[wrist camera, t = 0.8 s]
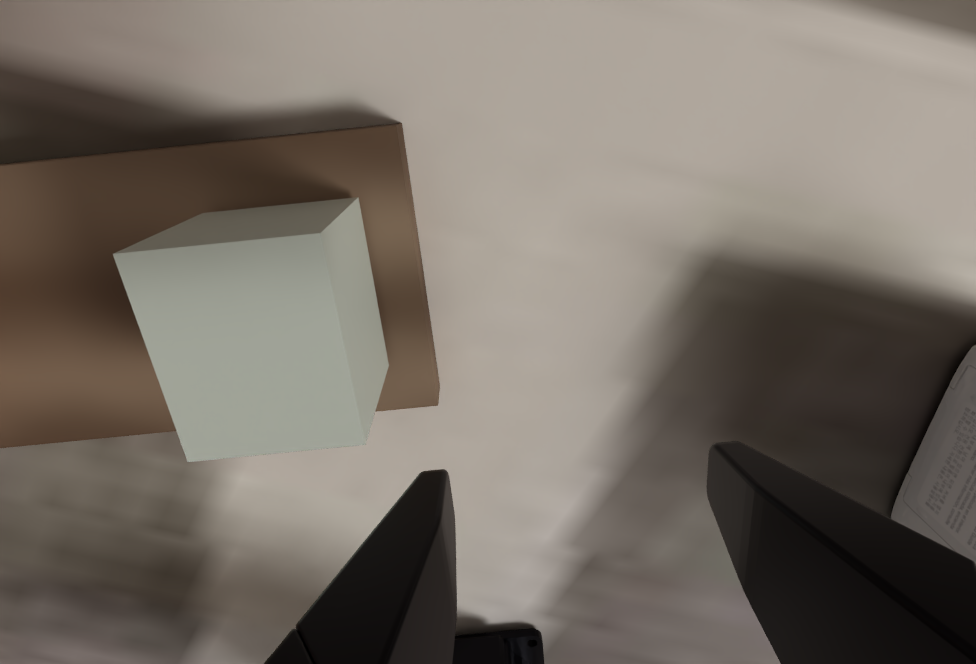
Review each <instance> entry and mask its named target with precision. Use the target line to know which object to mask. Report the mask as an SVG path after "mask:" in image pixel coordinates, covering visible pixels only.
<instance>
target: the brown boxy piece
mask: <svg viewBox="0 0 976 664" xmlns="http://www.w3.org/2000/svg"><path fill="white" fill-rule="evenodd" d="M355 197H358V198H359V203H360V209H361V214H362V220H363V225H364V231H365V236H366V242H367V248H368V253H369V259H370V264H371V270H372V275H373V281H374V286H375V292H376V297H377V303H378V308H379V314H380V319H381V325H382V330H383V336H384V341H385V347H386V352H387V358H388V363H389V367H388V370H387V374H386V377H385V380H384V384H383V387H382V390H381V394H380V397H379V401H378V404H377V407H376V411H386V410H396V409H407V408H417V407H427V406H437V405H438V400H439V390H440V384H439V377H438V370H437V363H436V356H435V349H434V342H433V335H432V329H431V322H430V315H429V308H428V301H427V294H426V287H425V280H424V273H423V266H422V259H421V252H420V246H419V239H418V232H417V225H416V218H415V211H414V204H413V197H412V190H411V183H410V176H409V169H408V163H407V156H406V149H405V142H404V135H403V128H402V123H397V124H387V125H377V126H368V127H358V128H348V129H338V130H329V131H319V132H309V133H299V134H290V135H280V136H270V137H260V138H251V139H241V140H231V141H221V142H212V143H202V144H192V145H182V146H172V147H163V148H153V149H143V150H133V151H124V152H114V153H104V154H94V155H85V156H75V157H65V158H55V159H46V160H36V161H26V162H16V163H7V164H0V448H6V447H17V446H27V445H37V444H47V443H58V442H68V441H78V440H88V439H99V438H109V437H119V436H129V435H140V434H150V433H160V432H171V431H176V428H175V425H174V422H173V420H172V417H171V414H170V411H169V409H168V406H167V403H166V400H165V398H164V395H163V392H162V389H161V386H160V384H159V381H158V378H157V375H156V373H155V370H154V367H153V364H152V362H151V359H150V356H149V353H148V350H147V348H146V345H145V342H144V339H143V337H142V334H141V331H140V328H139V326H138V323H137V320H136V317H135V314H134V312H133V309H132V306H131V303H130V301H129V298H128V295H127V292H126V290H125V287H124V284H123V281H122V278H121V276H120V273H119V270H118V267H117V265H116V262H115V259H114V256H113V254H114V253H116V252H118V251H120V250H123V249H125V248H127V247H129V246H131V245H134V244H136V243H138V242H140V241H142V240H144V239H147V238H149V237H151V236H153V235H155V234H158V233H160V232H162V231H164V230H166V229H169V228H171V227H173V226H175V225H177V224H180V223H182V222H184V221H186V220H188V219H191V218H193V217H195V216H197V215H199V214H202V213H207V212H217V211H227V210H237V209H247V208H256V207H266V206H276V205H286V204H296V203H306V202H316V201H326V200H335V199H345V198H355ZM376 411H375V412H376Z"/></svg>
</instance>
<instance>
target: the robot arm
mask: <svg viewBox="0 0 976 664" xmlns="http://www.w3.org/2000/svg"><path fill="white" fill-rule="evenodd" d="M707 496H708V500H709V503H710V506H711V508H712V511H713V513H714V516H715V519H716V521H717V524H718V526H719V529H720V532H721V534H722V537H723V539H724V542H725V545H726V547H727V550H728V552H729V555H730V558H731V560H732V563H733V565H734V568H735V570H736V573H737V576H738V578H739V581H740V583H741V585H742V588H743V590H744V592H745V594H746V596H747V598H748V601H749V603H750V605H751V607H752V609H753V611H754V612H755V614H756V616H757V618H758V620H759V622H760V624H761V626H762V628H763V630H764V632H765V634H766V636H767V638H768V639H769V641H770V643H771V645H772V647H773V649H774V651H775V653H776V655H777V657H778V659H779V661H780V663H781V664H976V564H975V562H974V561H973V560H971V559H969V558H967V557H965V556H963V555H961V554H959V553H957V552H955V551H953V550H951V549H949V548H947V547H945V546H943V545H942V544H940V543H938V542H936V541H934V540H932V539H930V538H928V537H926V536H924V535H922V534H920V533H918V532H916V531H914V530H912V529H910V528H908V527H906V526H904V525H902V524H900V523H898V522H896V521H894V520H892V519H890V518H888V517H886V516H884V515H883V514H881V513H879V512H877V511H875V510H873V509H871V508H869V507H867V506H865V505H863V504H861V503H859V502H857V501H855V500H853V499H851V498H849V497H847V496H845V495H843V494H841V493H839V492H837V491H835V490H833V489H831V488H829V487H827V486H825V485H823V484H822V483H820V482H818V481H816V480H814V479H812V478H810V477H808V476H806V475H804V474H802V473H800V472H798V471H796V470H794V469H792V468H790V467H788V466H786V465H784V464H782V463H780V462H778V461H776V460H774V459H772V458H770V457H768V456H766V455H764V454H763V453H761V452H759V451H757V450H755V449H753V448H751V447H749V446H747V445H745V444H743V443H741V442H738V441H732V442H721V443H714V444H713V445H712V446H711V447H710V449H709V456H708V471H707ZM456 617H457V589H456V536H455V514H454V507H453V500H452V493H451V486H450V480H449V475H448V472H447V471H446V470H444V469H442V470H431V471H423V472H421V473H420V474H419V475H418V476H417V478H416V479H415V480H414V481H413V482H412V484H411V485H410V486H409V487H408V489H407V490H406V491H405V492H404V493H403V495H402V496H401V497H400V498H399V500H398V501H397V502H396V503H395V504H394V506H393V507H392V508H391V509H390V511H389V512H388V513H387V514H386V516H385V517H384V518H383V519H382V520H381V522H380V523H379V524H378V525H377V527H376V528H375V529H374V530H373V531H372V533H371V534H370V535H369V536H368V538H367V539H366V540H365V541H364V542H363V544H362V545H361V546H360V547H359V549H358V550H357V551H356V552H355V553H354V555H353V556H352V557H351V558H350V560H349V561H348V562H347V563H346V564H345V566H344V567H343V568H342V569H341V571H340V572H339V573H338V574H337V576H336V577H335V578H334V579H333V580H332V582H331V583H330V584H329V585H328V587H327V588H326V589H325V590H324V591H323V593H322V594H321V595H320V596H319V598H318V599H317V600H316V601H315V602H314V604H313V605H312V606H311V607H310V609H309V610H308V611H307V612H306V613H305V615H304V616H303V617H302V618H301V620H300V621H299V622H298V623H297V625H296V629H293V630H291V632H290V633H289V634H288V635H287V636H286V638H285V639H284V640H283V641H282V643H281V644H280V645H279V646H278V647H277V649H276V650H275V651H274V652H273V653H272V655H271V656H270V657H269V658H268V659H267V660H266V662H265V663H264V664H544V655H543V643H542V635H541V632H540V631H538V630H536V629H523V630H513V631H502V632H491V633H481V634H470V635H459V636H455V631H456Z"/></svg>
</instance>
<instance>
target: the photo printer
mask: <svg viewBox="0 0 976 664" xmlns="http://www.w3.org/2000/svg"><path fill="white" fill-rule="evenodd" d="M891 519H892V520H894V521H896V522H898V523H900V524H902V525H904V526H906V527H908V528H910V529H912V530H914V531H916V532H918V533H920V534H922V535H924V536H926V537H928V538H930V539H932V540H934V541H936V542H938V543H940V544H942V545H943V546H945V547H947V548H949V549H951V550H953V551H955V552H957V553H959V554H961V555H963V556H965V557H967V558H969V559H971V560H973V561H974V562H975V564H976V345H974V346H973V347H972V348H971V349H970V350H969V352H968V353H967V355H966V356H965V358H964V359H963V361H962V362H961V364H960V365H959V367H958V369H957V370H956V372H955V374H954V376H953V378H952V380H951V382H950V384H949V386H948V388H947V390H946V392H945V394H944V397H943V399H942V401H941V403H940V405H939V407H938V409H937V411H936V413H935V415H934V418H933V420H932V421H931V423H930V426H929V428H928V430H927V432H926V434H925V436H924V438H923V441H922V443H921V445H920V447H919V449H918V451H917V454H916V456H915V458H914V460H913V462H912V464H911V467H910V469H909V471H908V473H907V474H906V476H905V479H904V481H903V484H902V486H901V488H900V491H899V493H898V496H897V498H896V501H895V503H894V506H893V510H892V514H891Z"/></svg>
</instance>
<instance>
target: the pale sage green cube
mask: <svg viewBox="0 0 976 664" xmlns="http://www.w3.org/2000/svg"><path fill="white" fill-rule="evenodd" d="M113 256H114V259H115V262H116V265H117V267H118V270H119V273H120V276H121V278H122V281H123V284H124V287H125V290H126V292H127V295H128V298H129V301H130V303H131V306H132V309H133V312H134V314H135V317H136V320H137V323H138V326H139V328H140V331H141V334H142V337H143V339H144V342H145V345H146V348H147V350H148V353H149V356H150V359H151V362H152V364H153V367H154V370H155V373H156V375H157V378H158V381H159V384H160V386H161V389H162V392H163V395H164V398H165V400H166V403H167V406H168V409H169V411H170V414H171V417H172V420H173V422H174V425H175V428H176V431H177V434H178V436H179V439H180V442H181V445H182V447H183V450H184V453H185V456H186V458H187V461H188V462H194V461H204V460H214V459H225V458H235V457H245V456H256V455H266V454H276V453H286V452H297V451H307V450H317V449H328V448H338V447H348V446H359V445H366V441H367V438H368V434H369V431H370V428H371V424H372V421H373V417H374V414H375V411H376V407H377V404H378V401H379V397H380V394H381V390H382V387H383V384H384V380H385V377H386V374H387V370H388V367H389V363H388V358H387V352H386V347H385V341H384V336H383V330H382V325H381V319H380V314H379V308H378V303H377V297H376V292H375V286H374V281H373V275H372V270H371V264H370V259H369V253H368V248H367V242H366V236H365V231H364V225H363V220H362V214H361V209H360V203H359V198H358V197H355V198H345V199H335V200H326V201H316V202H306V203H296V204H286V205H276V206H266V207H256V208H247V209H237V210H227V211H217V212H207V213H202V214H199V215H197V216H195V217H193V218H191V219H188V220H186V221H184V222H182V223H180V224H177V225H175V226H173V227H171V228H169V229H166V230H164V231H162V232H160V233H158V234H155V235H153V236H151V237H149V238H147V239H144V240H142V241H140V242H138V243H136V244H134V245H131V246H129V247H127V248H125V249H123V250H120V251H118V252H116V253H114V254H113Z"/></svg>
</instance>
